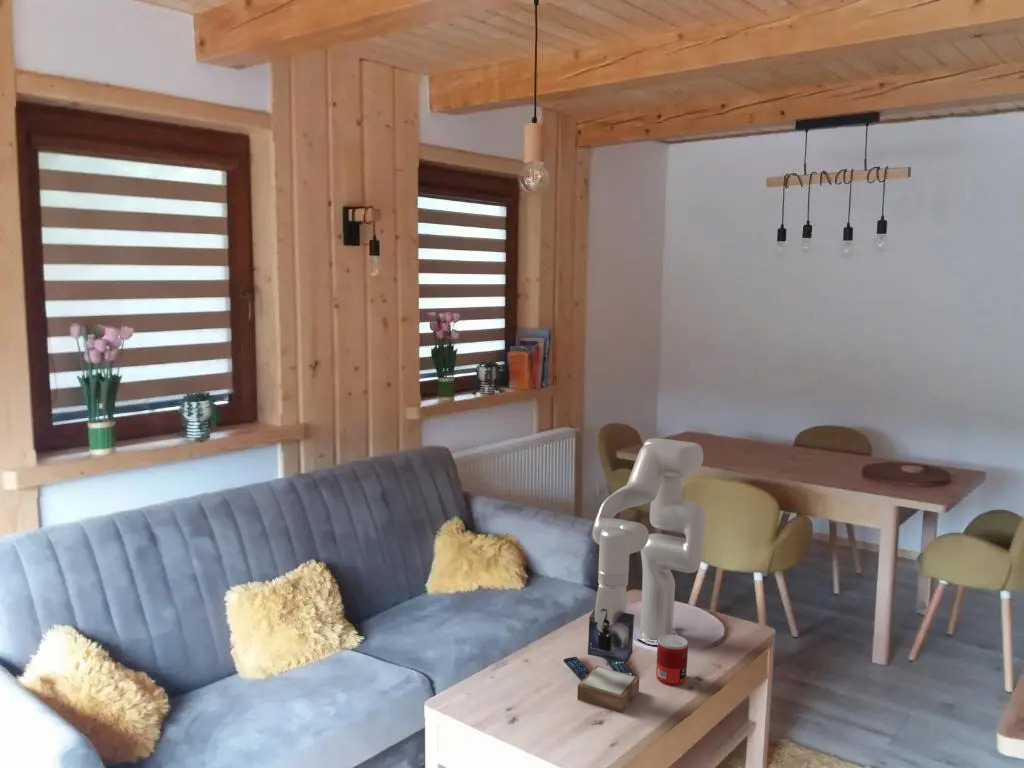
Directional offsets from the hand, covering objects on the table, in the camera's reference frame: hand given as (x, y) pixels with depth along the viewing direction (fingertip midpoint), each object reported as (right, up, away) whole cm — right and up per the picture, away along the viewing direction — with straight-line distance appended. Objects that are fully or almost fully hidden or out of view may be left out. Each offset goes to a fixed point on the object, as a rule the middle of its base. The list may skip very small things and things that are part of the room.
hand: (610, 643), depth 215 cm
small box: (0, -3, 0) cm, 3 cm away
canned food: (+18, -13, +12) cm, 25 cm away
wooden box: (0, -14, +2) cm, 14 cm away
